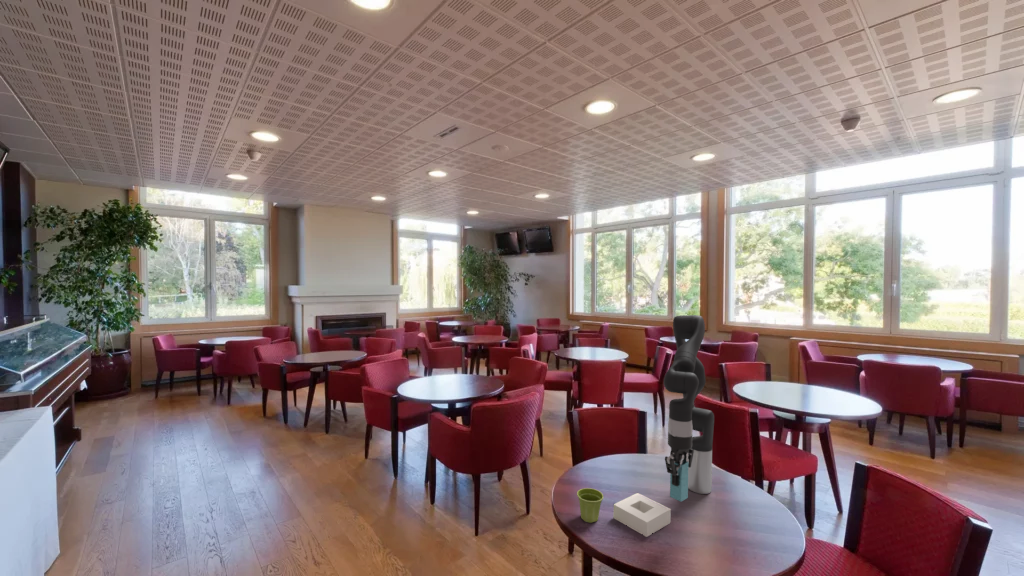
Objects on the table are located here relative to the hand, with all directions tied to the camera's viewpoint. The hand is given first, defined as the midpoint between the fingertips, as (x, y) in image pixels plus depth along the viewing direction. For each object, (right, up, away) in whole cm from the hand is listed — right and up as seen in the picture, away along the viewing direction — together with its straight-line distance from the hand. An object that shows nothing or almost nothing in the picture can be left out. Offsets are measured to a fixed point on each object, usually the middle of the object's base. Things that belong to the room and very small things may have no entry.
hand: (679, 483), depth 141 cm
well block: (-9, -19, +12) cm, 24 cm away
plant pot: (-27, -19, +13) cm, 35 cm away
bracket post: (0, -5, 0) cm, 5 cm away
